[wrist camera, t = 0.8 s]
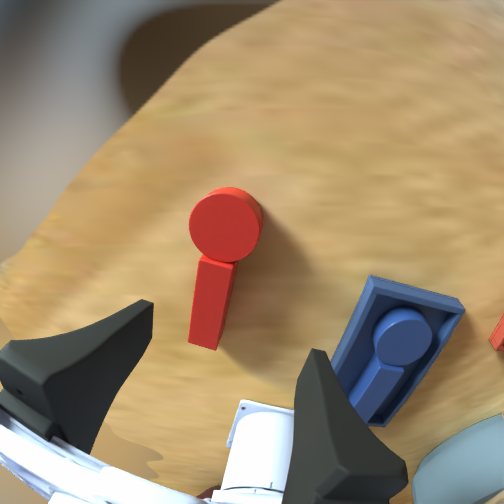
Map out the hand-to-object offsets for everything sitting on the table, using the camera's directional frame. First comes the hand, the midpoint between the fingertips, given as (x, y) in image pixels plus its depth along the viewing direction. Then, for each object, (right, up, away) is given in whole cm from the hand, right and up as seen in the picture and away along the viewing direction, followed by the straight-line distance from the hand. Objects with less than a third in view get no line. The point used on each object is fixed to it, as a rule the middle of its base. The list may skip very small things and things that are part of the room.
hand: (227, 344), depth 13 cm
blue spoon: (+11, -5, +9) cm, 15 cm away
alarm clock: (+32, -23, +14) cm, 42 cm away
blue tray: (+11, -5, +10) cm, 16 cm away
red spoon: (-1, +3, +8) cm, 9 cm away
